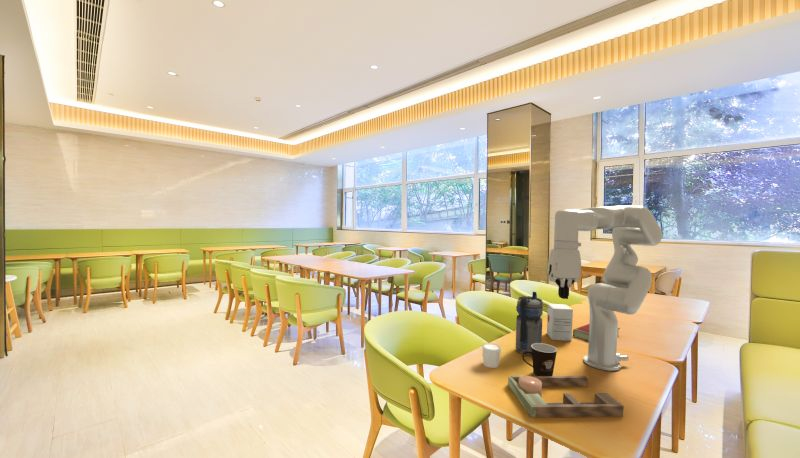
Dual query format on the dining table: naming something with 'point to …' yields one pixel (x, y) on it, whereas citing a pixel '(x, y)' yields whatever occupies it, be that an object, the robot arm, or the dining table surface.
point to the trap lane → (565, 399)
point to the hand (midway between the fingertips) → (563, 297)
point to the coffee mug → (542, 359)
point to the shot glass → (491, 355)
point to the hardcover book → (583, 332)
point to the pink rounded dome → (530, 385)
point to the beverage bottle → (528, 323)
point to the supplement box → (559, 322)
